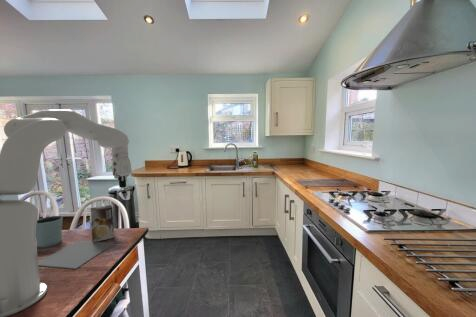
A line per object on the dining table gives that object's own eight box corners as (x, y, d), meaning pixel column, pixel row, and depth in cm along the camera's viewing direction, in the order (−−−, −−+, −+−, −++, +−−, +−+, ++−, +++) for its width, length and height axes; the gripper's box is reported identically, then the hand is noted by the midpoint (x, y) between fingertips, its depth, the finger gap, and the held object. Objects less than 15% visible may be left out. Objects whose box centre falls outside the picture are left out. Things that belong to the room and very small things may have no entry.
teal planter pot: (32, 245, 92) (30, 221, 91) (59, 236, 101) (57, 214, 100) (40, 250, 87) (38, 225, 86) (68, 240, 96) (66, 217, 95)
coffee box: (112, 233, 103) (112, 204, 102) (114, 237, 98) (113, 207, 97) (91, 238, 97) (90, 207, 97) (91, 243, 92) (90, 210, 92)
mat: (76, 269, 73) (76, 268, 73) (32, 265, 76) (32, 264, 76) (114, 243, 92) (114, 243, 92) (78, 241, 95) (78, 240, 95)
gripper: (116, 157, 102) (119, 190, 104) (135, 155, 117) (137, 184, 118) (104, 157, 103) (106, 190, 105) (124, 155, 118) (126, 184, 119)
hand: (122, 187), depth 111 cm, fingers closed
